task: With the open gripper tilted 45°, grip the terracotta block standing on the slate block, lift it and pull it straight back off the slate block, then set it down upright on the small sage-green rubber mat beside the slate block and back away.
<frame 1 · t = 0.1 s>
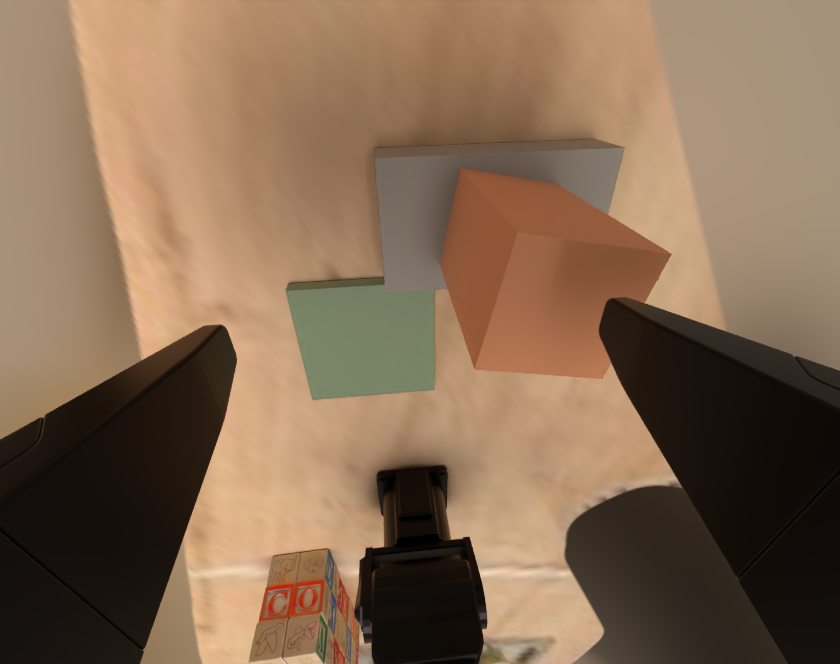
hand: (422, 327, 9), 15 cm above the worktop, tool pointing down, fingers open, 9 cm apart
green mat: (368, 337, 27), on the worktop
terracotta block: (495, 225, 20), point 3 cm above the worktop, touching slate block
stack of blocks: (321, 591, 48), on the worktop
slate block: (482, 209, 23), on the worktop
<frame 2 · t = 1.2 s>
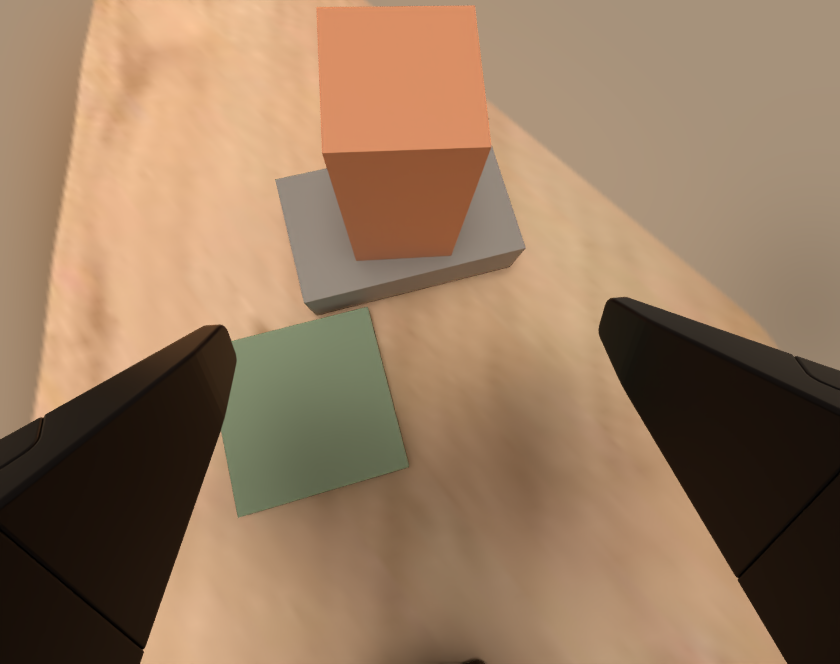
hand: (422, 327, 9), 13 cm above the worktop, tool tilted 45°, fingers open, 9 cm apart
green mat: (310, 406, 22), on the worktop
terracotta block: (400, 213, 21), point 3 cm above the worktop, touching slate block
slate block: (400, 236, 24), on the worktop
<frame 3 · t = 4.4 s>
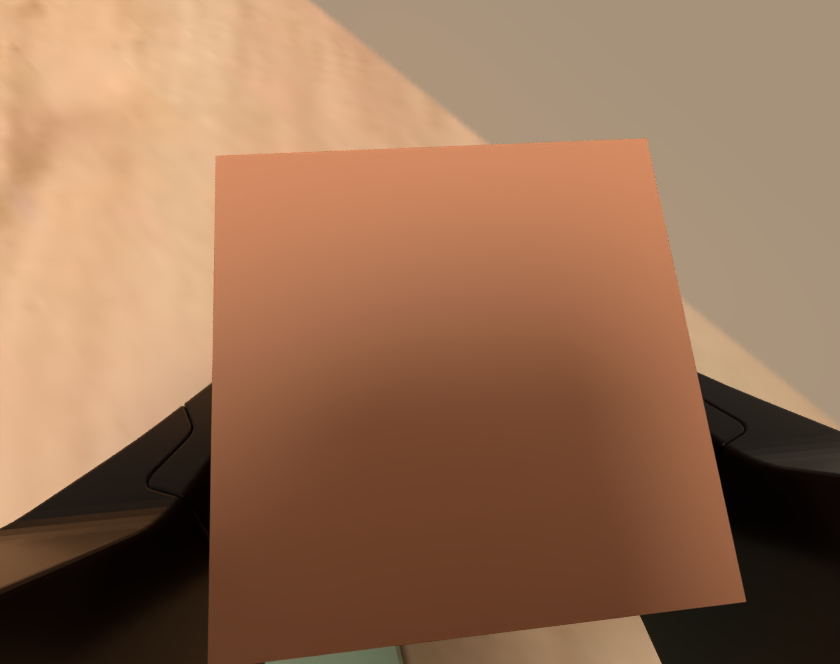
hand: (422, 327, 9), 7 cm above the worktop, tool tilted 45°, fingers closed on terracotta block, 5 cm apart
terracotta block: (419, 392, 13), point 3 cm above the worktop, touching gripper, slate block
when the fingers open (6 cm above the worktop, at t = 9.4 s): terracotta block drops 2 cm, resting on green mat.
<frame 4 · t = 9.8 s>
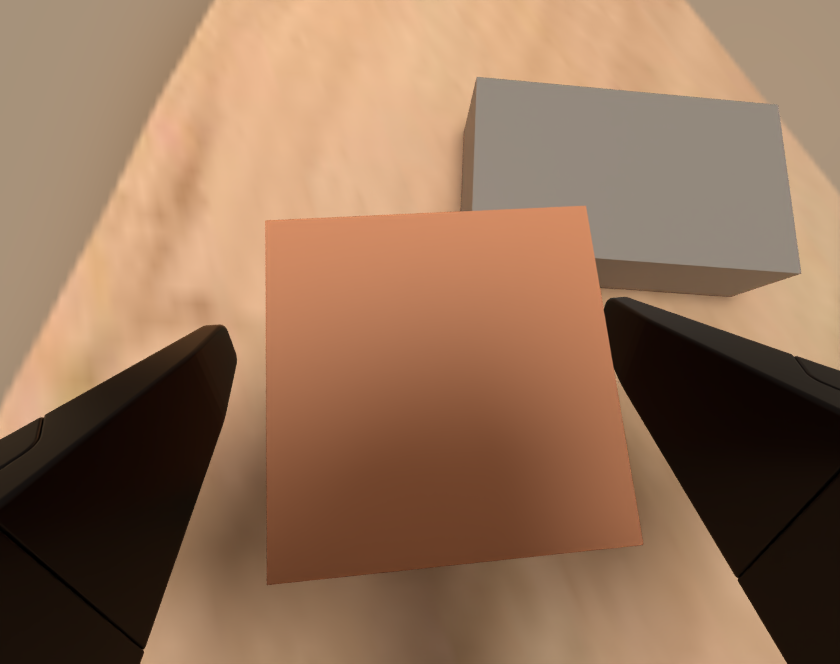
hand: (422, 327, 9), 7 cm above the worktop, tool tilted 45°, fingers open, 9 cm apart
terracotta block: (416, 393, 14), point 1 cm above the worktop, touching green mat
slate block: (594, 212, 17), on the worktop
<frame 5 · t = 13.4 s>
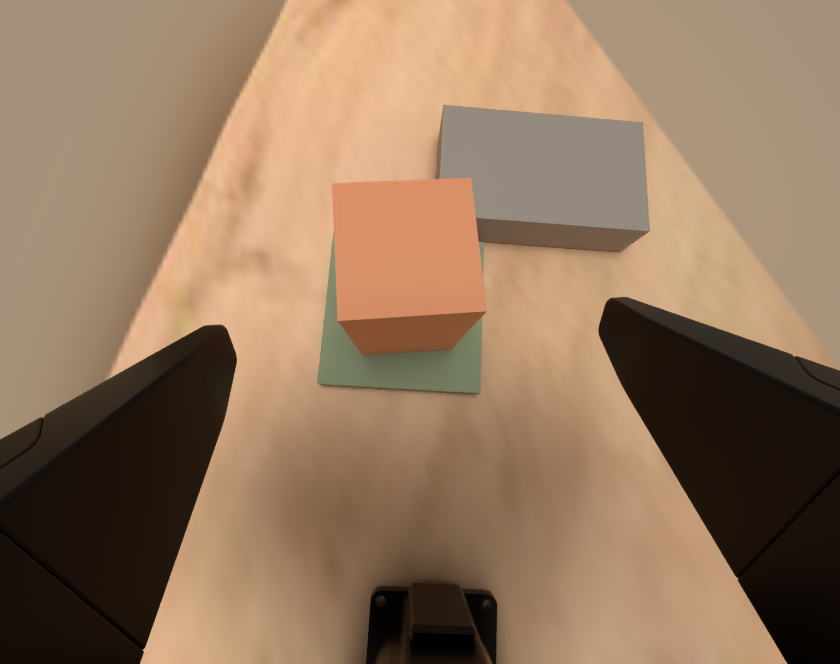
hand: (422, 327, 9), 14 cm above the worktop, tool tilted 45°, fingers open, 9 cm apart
green mat: (404, 313, 23), on the worktop
terracotta block: (404, 309, 22), point 1 cm above the worktop, touching green mat
slate block: (527, 194, 25), on the worktop
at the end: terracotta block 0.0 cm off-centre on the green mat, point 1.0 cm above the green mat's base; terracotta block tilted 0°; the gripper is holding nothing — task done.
